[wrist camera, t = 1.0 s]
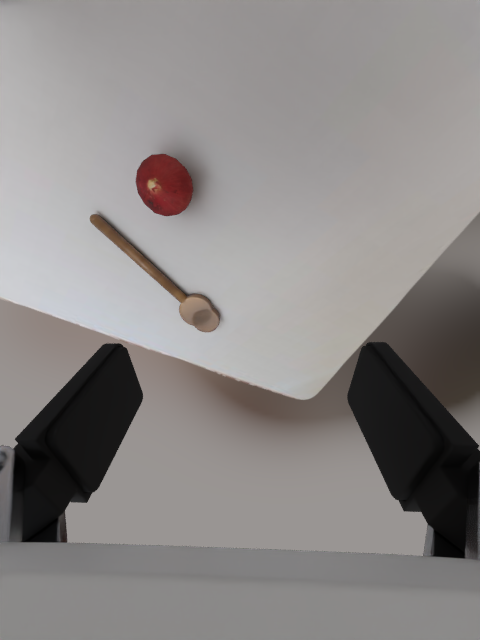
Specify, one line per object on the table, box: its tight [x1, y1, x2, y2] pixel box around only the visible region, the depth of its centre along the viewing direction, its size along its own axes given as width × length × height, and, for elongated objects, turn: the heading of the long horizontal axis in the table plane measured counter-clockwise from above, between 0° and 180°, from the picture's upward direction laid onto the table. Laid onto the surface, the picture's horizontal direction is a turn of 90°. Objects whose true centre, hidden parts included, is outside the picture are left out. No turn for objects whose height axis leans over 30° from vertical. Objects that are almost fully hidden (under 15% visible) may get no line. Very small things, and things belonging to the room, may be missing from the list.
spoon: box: [90, 214, 220, 332], centre depth 33 cm, size 23×5×1 cm, turn 42°
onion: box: [136, 154, 193, 216], centre depth 24 cm, size 6×6×8 cm
